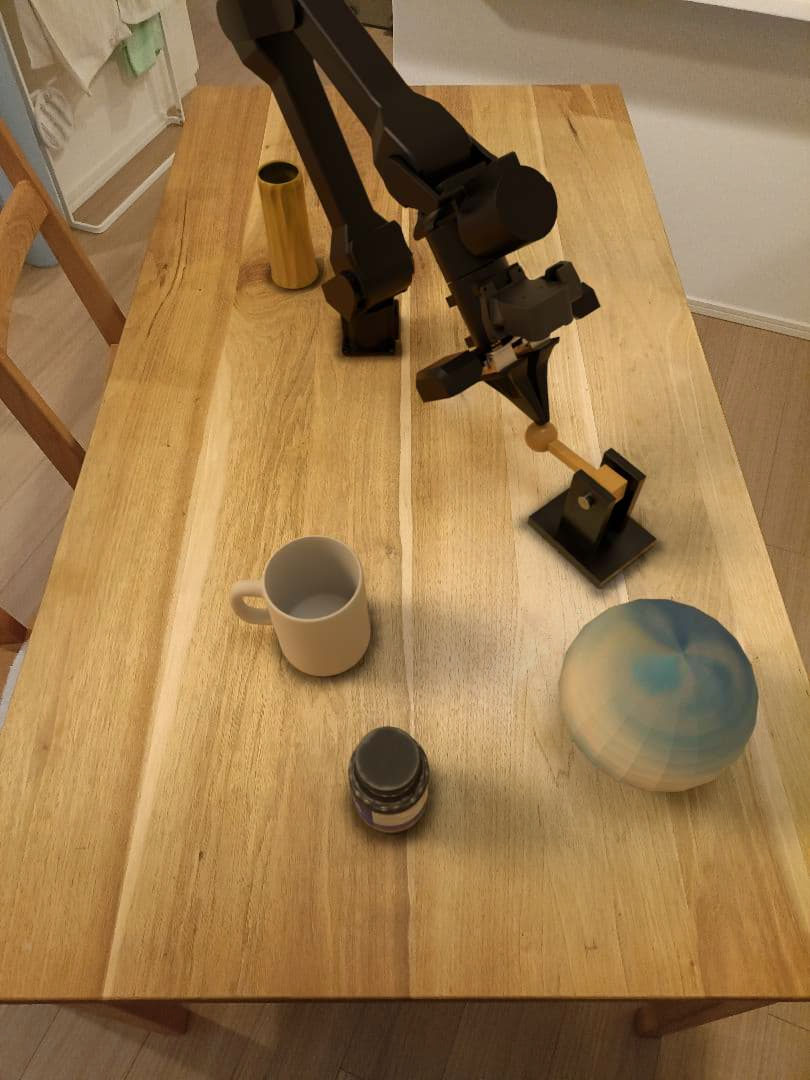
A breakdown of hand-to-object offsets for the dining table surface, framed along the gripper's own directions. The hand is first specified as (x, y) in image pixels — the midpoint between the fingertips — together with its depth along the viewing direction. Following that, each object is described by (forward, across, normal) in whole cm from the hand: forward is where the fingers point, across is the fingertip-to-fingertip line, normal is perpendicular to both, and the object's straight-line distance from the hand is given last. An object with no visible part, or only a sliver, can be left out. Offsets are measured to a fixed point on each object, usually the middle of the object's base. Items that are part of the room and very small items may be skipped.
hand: (544, 423), depth 74 cm
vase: (-24, 0, +38) cm, 45 cm away
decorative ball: (+24, -12, -11) cm, 29 cm away
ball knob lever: (+5, 0, -1) cm, 5 cm away
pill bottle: (+18, -32, -5) cm, 37 cm away
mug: (+6, -29, +7) cm, 30 cm away
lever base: (+13, 0, +1) cm, 13 cm away
